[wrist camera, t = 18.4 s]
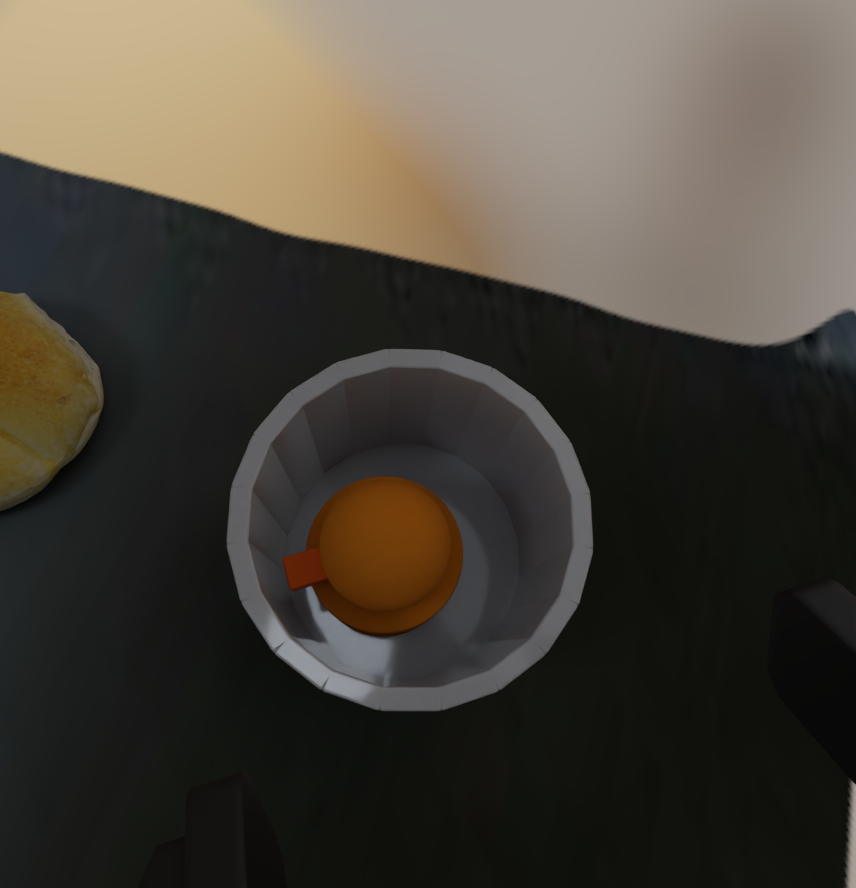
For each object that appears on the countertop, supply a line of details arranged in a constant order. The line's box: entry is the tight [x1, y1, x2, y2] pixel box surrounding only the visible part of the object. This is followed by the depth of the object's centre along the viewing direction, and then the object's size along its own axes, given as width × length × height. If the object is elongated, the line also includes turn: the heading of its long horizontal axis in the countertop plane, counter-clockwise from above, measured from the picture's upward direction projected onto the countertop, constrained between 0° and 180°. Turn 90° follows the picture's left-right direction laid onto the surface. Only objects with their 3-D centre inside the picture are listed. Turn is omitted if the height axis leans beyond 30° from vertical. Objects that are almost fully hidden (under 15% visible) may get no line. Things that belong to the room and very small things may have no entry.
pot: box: [226, 349, 593, 711], centre depth 25 cm, size 10×10×9 cm
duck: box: [282, 476, 463, 637], centre depth 25 cm, size 6×5×8 cm
